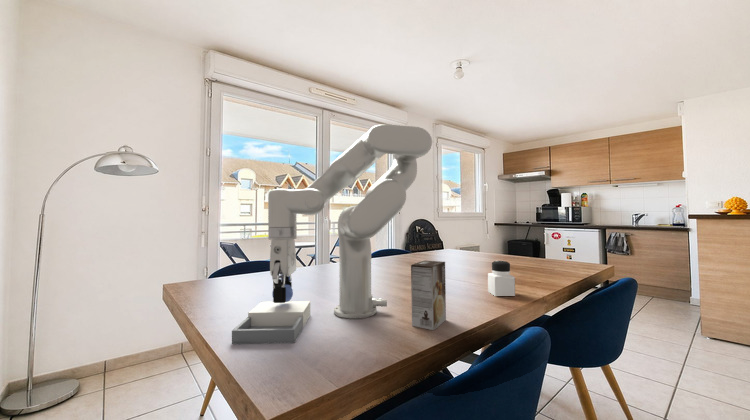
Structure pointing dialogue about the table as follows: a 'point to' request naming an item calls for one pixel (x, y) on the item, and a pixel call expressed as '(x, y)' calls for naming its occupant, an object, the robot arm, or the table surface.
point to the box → (266, 333)
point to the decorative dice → (288, 293)
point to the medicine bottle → (501, 280)
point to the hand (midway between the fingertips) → (282, 298)
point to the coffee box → (428, 294)
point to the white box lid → (279, 313)
